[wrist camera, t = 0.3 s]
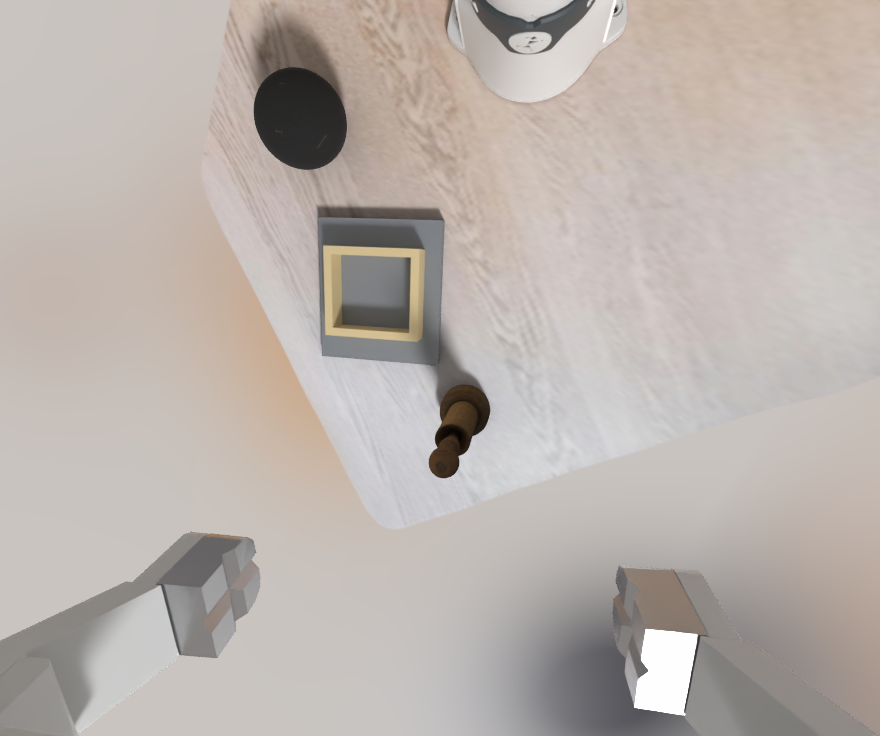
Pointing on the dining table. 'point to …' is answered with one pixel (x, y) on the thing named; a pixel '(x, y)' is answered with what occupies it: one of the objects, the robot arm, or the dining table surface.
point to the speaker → (300, 118)
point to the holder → (381, 288)
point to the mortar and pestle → (458, 427)
